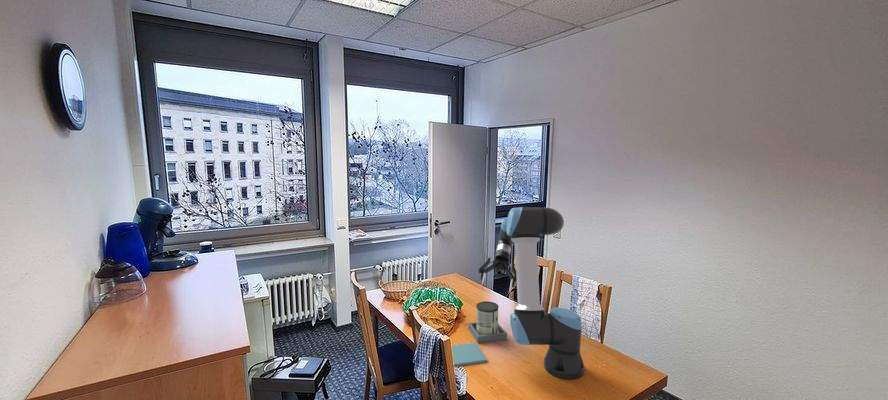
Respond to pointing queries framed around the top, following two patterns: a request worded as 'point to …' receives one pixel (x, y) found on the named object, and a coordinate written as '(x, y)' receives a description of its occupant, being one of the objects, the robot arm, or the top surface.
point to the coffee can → (487, 318)
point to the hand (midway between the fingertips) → (495, 288)
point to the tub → (487, 338)
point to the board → (467, 354)
